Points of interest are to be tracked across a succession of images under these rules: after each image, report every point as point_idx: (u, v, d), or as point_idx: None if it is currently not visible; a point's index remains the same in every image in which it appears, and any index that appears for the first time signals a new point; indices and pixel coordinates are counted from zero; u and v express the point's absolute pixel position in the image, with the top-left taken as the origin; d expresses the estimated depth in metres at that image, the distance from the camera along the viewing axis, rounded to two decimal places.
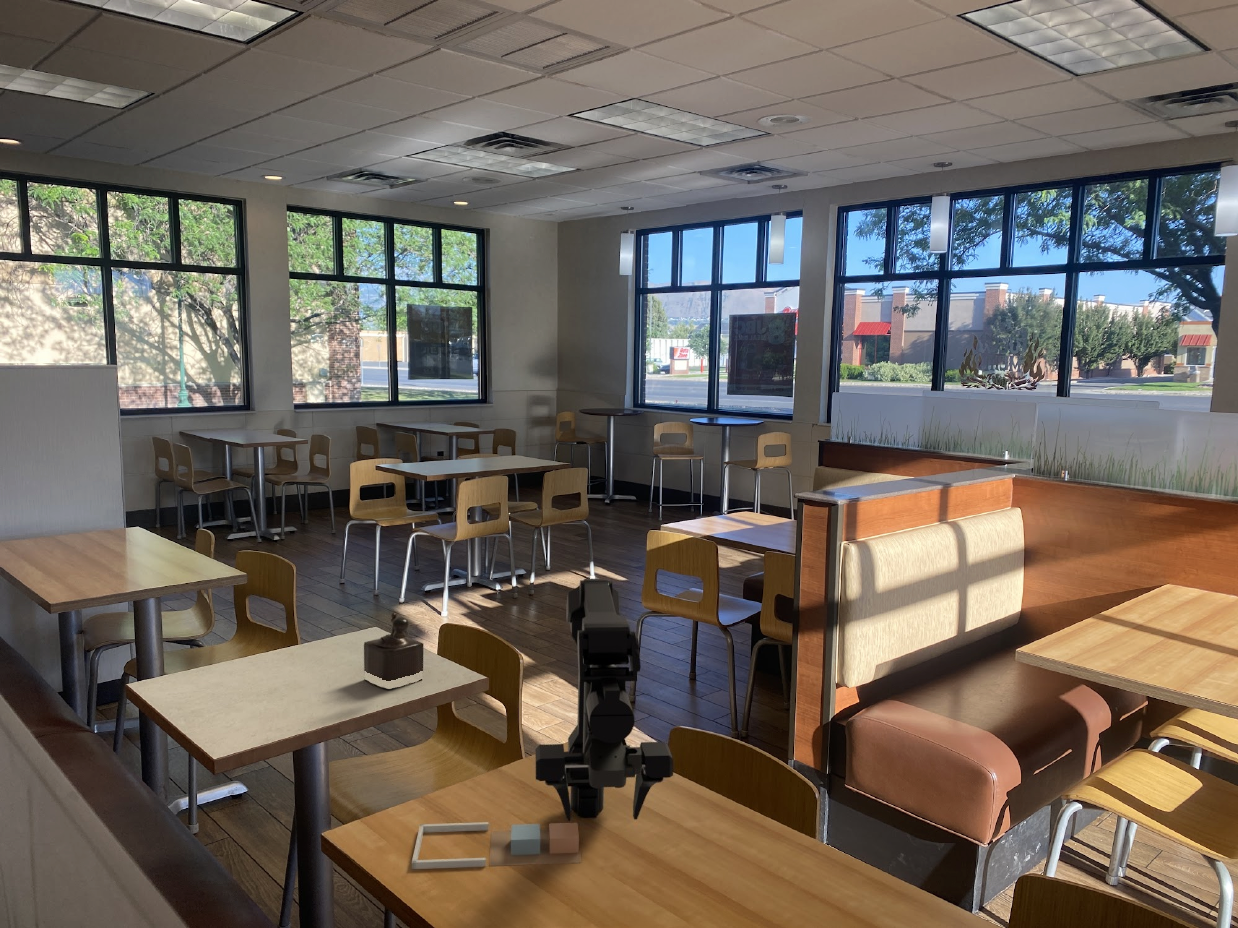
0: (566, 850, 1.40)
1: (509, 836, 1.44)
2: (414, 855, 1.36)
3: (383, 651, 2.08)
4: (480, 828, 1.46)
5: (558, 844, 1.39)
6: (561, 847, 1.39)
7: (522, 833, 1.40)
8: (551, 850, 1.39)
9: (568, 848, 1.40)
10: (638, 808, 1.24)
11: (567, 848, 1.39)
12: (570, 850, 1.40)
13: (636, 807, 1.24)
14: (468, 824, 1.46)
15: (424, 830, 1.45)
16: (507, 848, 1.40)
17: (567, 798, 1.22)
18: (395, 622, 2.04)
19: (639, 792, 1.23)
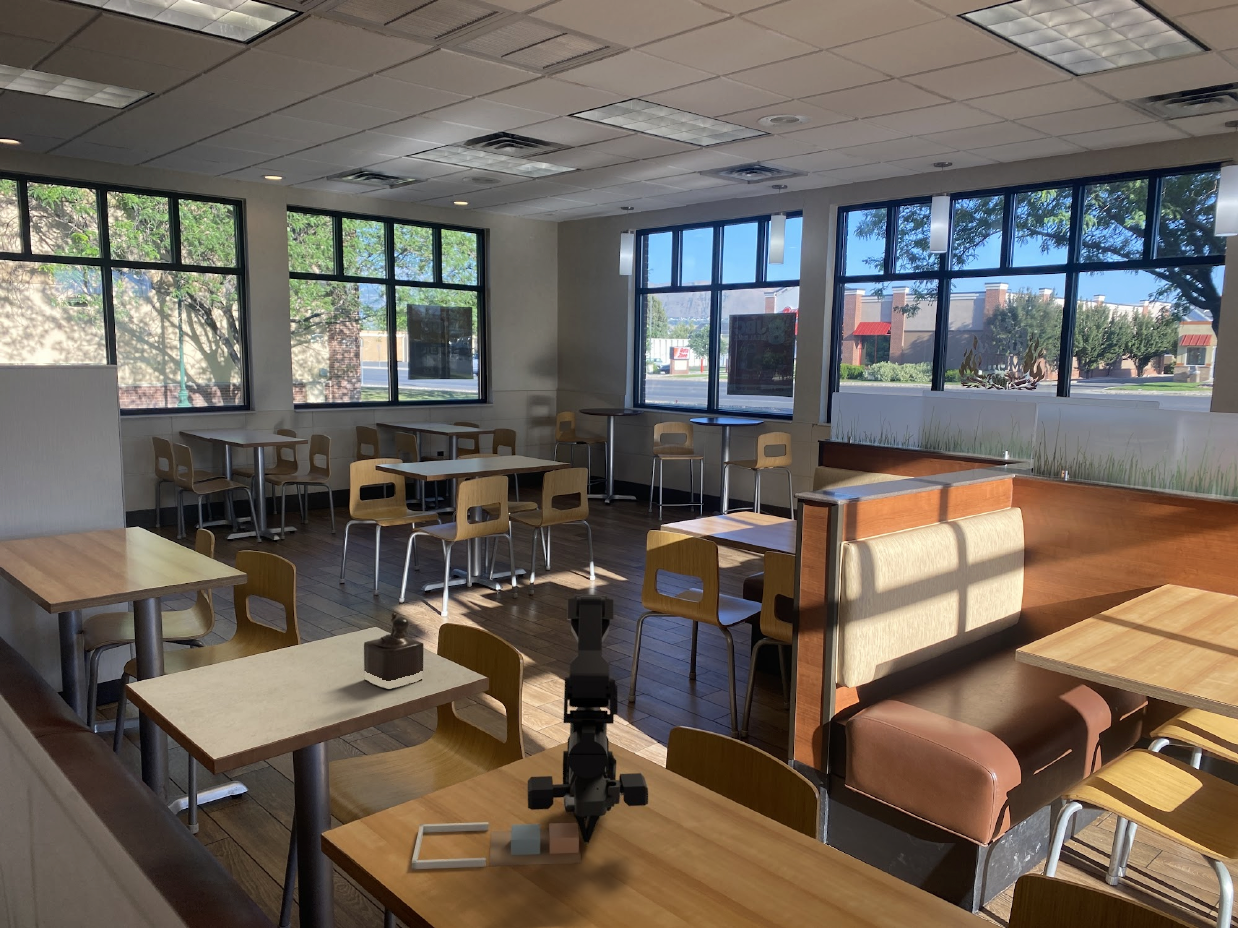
0: (566, 850, 1.40)
1: (509, 836, 1.44)
2: (414, 855, 1.36)
3: (383, 651, 2.08)
4: (480, 828, 1.46)
5: (558, 844, 1.39)
6: (561, 847, 1.39)
7: (522, 833, 1.40)
8: (551, 850, 1.39)
9: (568, 848, 1.40)
10: (590, 833, 1.41)
11: (567, 848, 1.39)
12: (570, 850, 1.40)
13: (588, 832, 1.41)
14: (468, 824, 1.46)
15: (424, 830, 1.45)
16: (507, 848, 1.40)
17: (583, 823, 1.40)
18: (395, 622, 2.04)
19: (590, 819, 1.40)
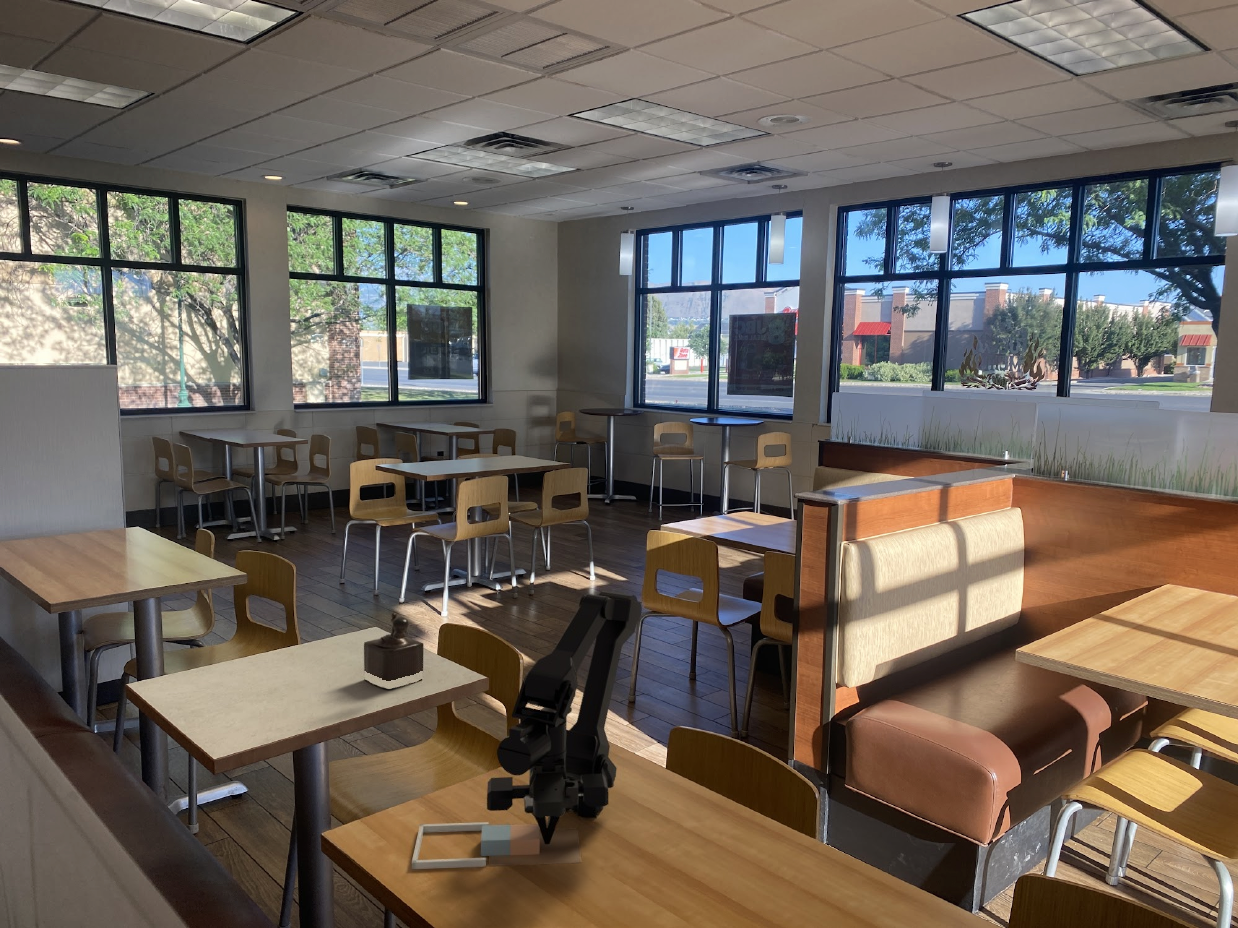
0: (526, 851, 1.39)
1: None
2: (414, 855, 1.36)
3: (383, 651, 2.08)
4: (480, 828, 1.46)
5: (518, 846, 1.39)
6: (522, 848, 1.39)
7: (493, 833, 1.40)
8: (511, 852, 1.39)
9: (529, 850, 1.39)
10: (550, 834, 1.40)
11: (528, 850, 1.39)
12: (531, 852, 1.39)
13: (548, 833, 1.40)
14: (468, 824, 1.46)
15: (424, 830, 1.45)
16: None
17: (544, 824, 1.40)
18: (395, 622, 2.04)
19: (550, 820, 1.40)
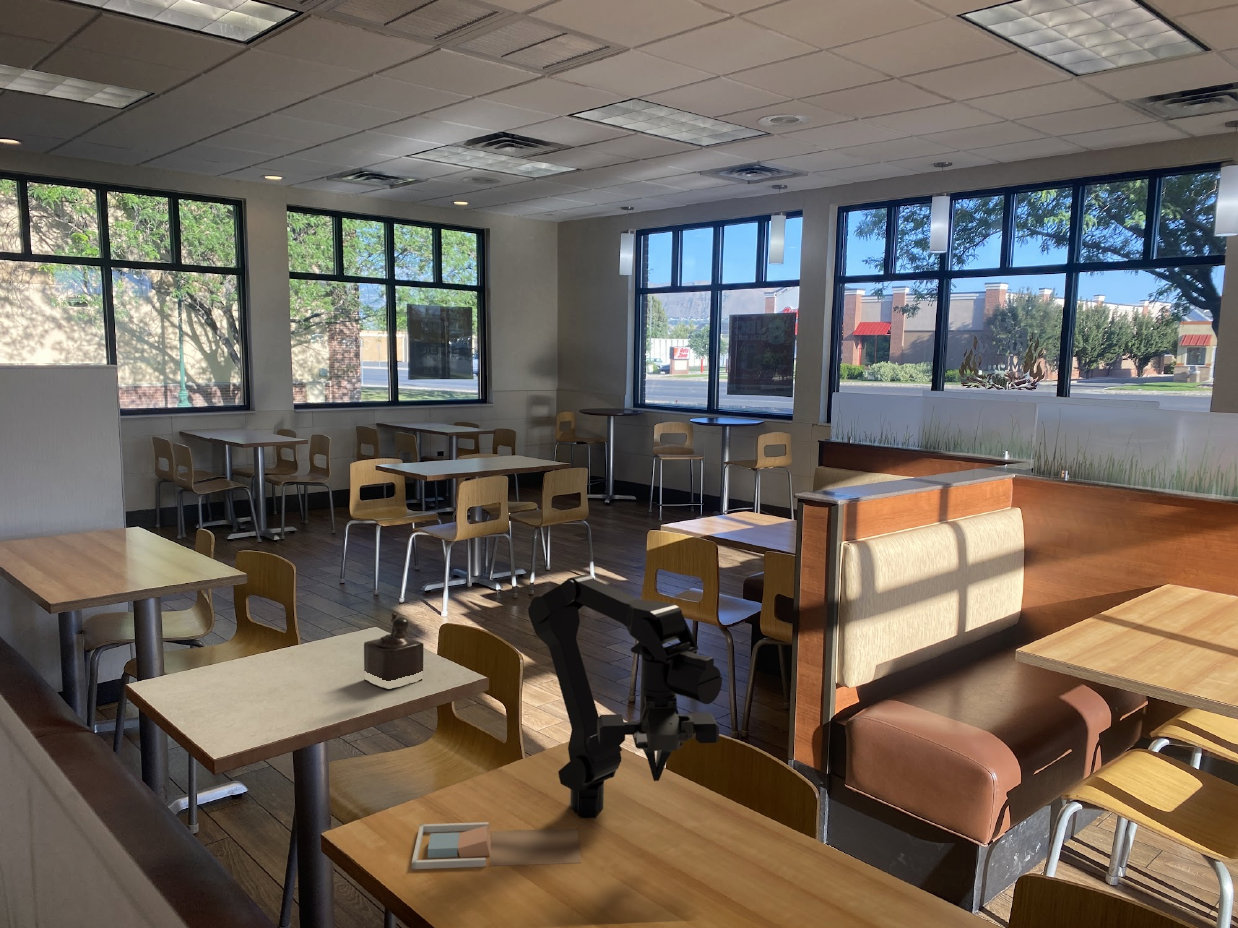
0: (477, 855, 1.38)
1: (509, 836, 1.44)
2: (414, 855, 1.36)
3: (383, 651, 2.08)
4: None
5: (467, 852, 1.38)
6: (471, 854, 1.38)
7: (440, 841, 1.39)
8: None
9: (478, 853, 1.38)
10: (660, 771, 1.41)
11: (477, 853, 1.38)
12: (481, 855, 1.38)
13: (658, 770, 1.41)
14: (468, 824, 1.46)
15: (424, 830, 1.45)
16: (507, 848, 1.40)
17: (654, 760, 1.40)
18: (395, 622, 2.04)
19: (661, 757, 1.40)
